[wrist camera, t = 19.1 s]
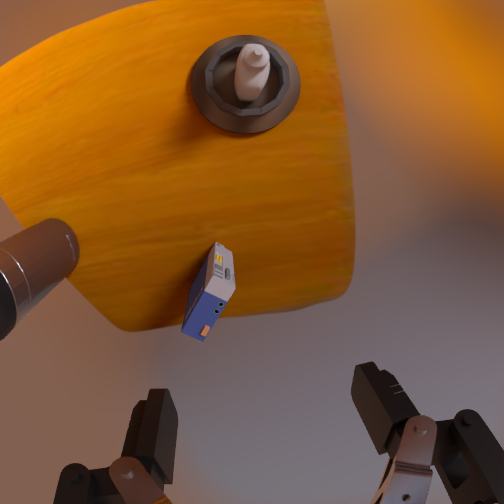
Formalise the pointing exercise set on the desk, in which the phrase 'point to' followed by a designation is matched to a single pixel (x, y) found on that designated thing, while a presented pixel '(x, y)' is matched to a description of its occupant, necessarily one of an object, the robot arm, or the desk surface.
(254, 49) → the eye dropper bottle
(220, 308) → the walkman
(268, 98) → the bottle collar
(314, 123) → the desk surface
